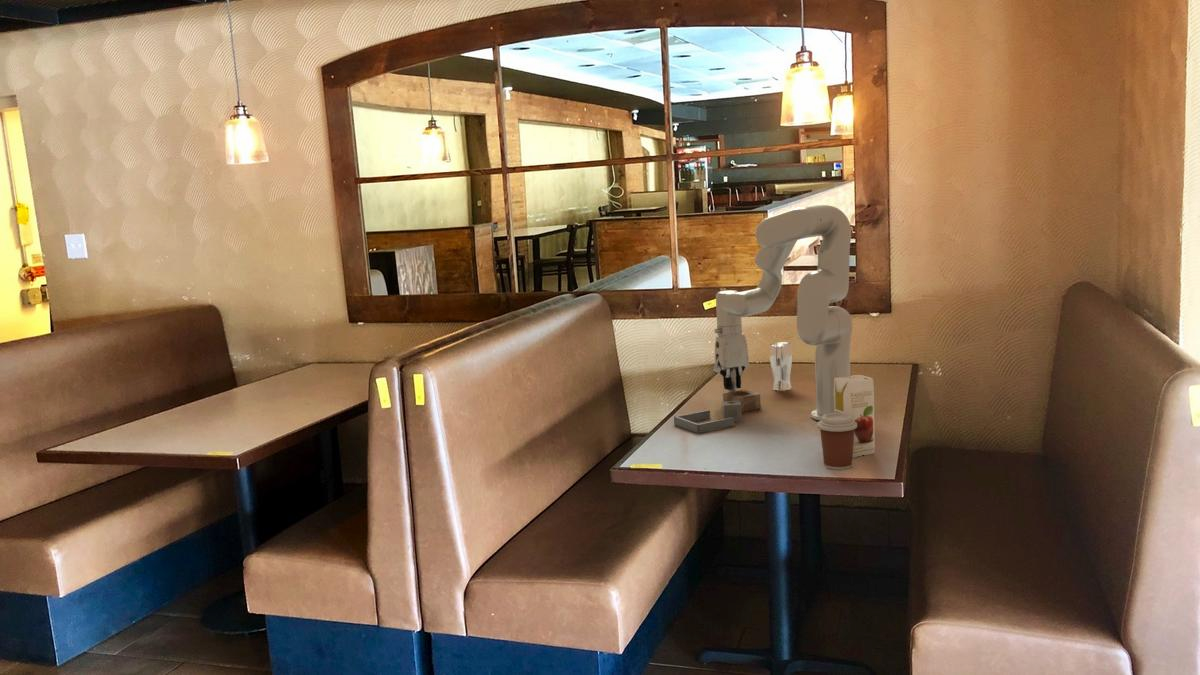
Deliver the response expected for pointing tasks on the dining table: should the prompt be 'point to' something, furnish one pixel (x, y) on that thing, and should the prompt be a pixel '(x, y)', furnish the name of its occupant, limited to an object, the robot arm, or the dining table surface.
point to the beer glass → (781, 365)
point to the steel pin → (733, 379)
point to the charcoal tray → (688, 423)
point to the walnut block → (744, 399)
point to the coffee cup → (837, 440)
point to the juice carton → (857, 409)
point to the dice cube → (732, 410)
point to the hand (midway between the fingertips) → (732, 388)
